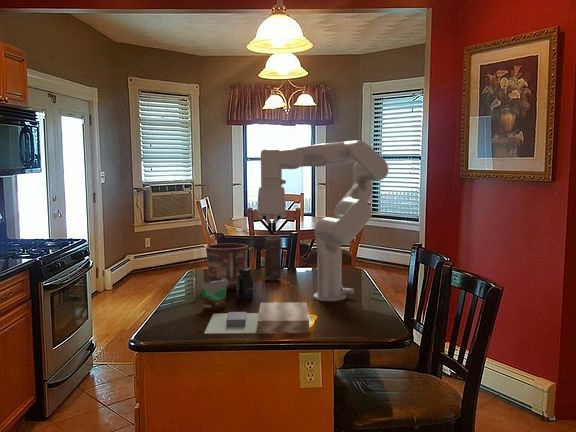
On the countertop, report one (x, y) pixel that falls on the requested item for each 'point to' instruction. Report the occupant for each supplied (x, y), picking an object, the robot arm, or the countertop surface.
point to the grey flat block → (236, 319)
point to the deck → (283, 318)
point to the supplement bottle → (245, 285)
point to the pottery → (226, 262)
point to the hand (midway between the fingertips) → (271, 233)
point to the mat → (219, 327)
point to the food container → (214, 293)
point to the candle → (272, 258)
